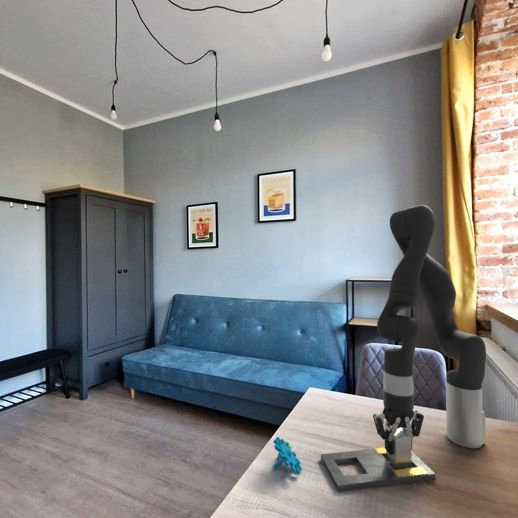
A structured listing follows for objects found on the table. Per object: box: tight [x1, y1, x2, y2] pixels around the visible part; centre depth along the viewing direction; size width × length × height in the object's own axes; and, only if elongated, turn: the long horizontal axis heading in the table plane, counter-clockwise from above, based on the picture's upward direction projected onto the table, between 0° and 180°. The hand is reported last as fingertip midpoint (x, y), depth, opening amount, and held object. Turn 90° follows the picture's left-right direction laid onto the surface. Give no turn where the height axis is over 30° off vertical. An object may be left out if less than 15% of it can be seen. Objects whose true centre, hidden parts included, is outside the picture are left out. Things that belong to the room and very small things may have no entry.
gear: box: [273, 436, 303, 475], centre depth 83 cm, size 11×6×10 cm
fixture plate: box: [320, 446, 436, 493], centre depth 82 cm, size 26×12×2 cm, turn 99°
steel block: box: [386, 427, 412, 470], centre depth 83 cm, size 4×4×8 cm
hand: (398, 451), depth 83 cm, fingers closed on steel block, 4 cm apart
